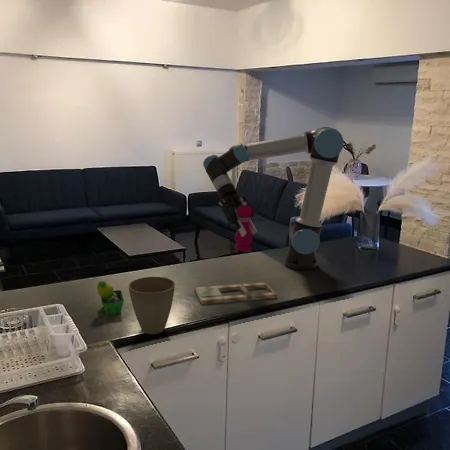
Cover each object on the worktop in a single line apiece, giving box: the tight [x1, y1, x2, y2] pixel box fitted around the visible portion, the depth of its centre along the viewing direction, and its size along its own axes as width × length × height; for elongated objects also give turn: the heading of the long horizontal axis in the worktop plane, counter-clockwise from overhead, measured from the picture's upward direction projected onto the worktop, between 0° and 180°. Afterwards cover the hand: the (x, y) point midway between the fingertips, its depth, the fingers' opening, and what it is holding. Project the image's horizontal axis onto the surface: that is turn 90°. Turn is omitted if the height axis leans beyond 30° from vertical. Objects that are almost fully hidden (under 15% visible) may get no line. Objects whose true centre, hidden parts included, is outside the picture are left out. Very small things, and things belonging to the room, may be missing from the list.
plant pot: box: [128, 276, 176, 335], centre depth 165 cm, size 15×15×16 cm
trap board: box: [193, 281, 278, 305], centre depth 198 cm, size 30×14×2 cm, turn 104°
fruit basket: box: [96, 280, 125, 316], centre depth 181 cm, size 11×9×11 cm
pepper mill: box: [234, 201, 253, 252], centre depth 206 cm, size 7×7×20 cm
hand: (249, 233), depth 203 cm, fingers closed on pepper mill, 5 cm apart
